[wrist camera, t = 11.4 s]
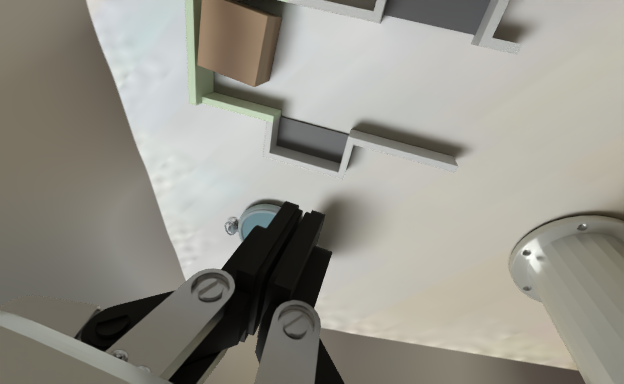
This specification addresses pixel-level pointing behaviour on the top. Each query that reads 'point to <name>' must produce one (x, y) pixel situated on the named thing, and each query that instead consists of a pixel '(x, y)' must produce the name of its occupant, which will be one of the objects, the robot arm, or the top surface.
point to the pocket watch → (254, 219)
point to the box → (338, 146)
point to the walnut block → (237, 40)
